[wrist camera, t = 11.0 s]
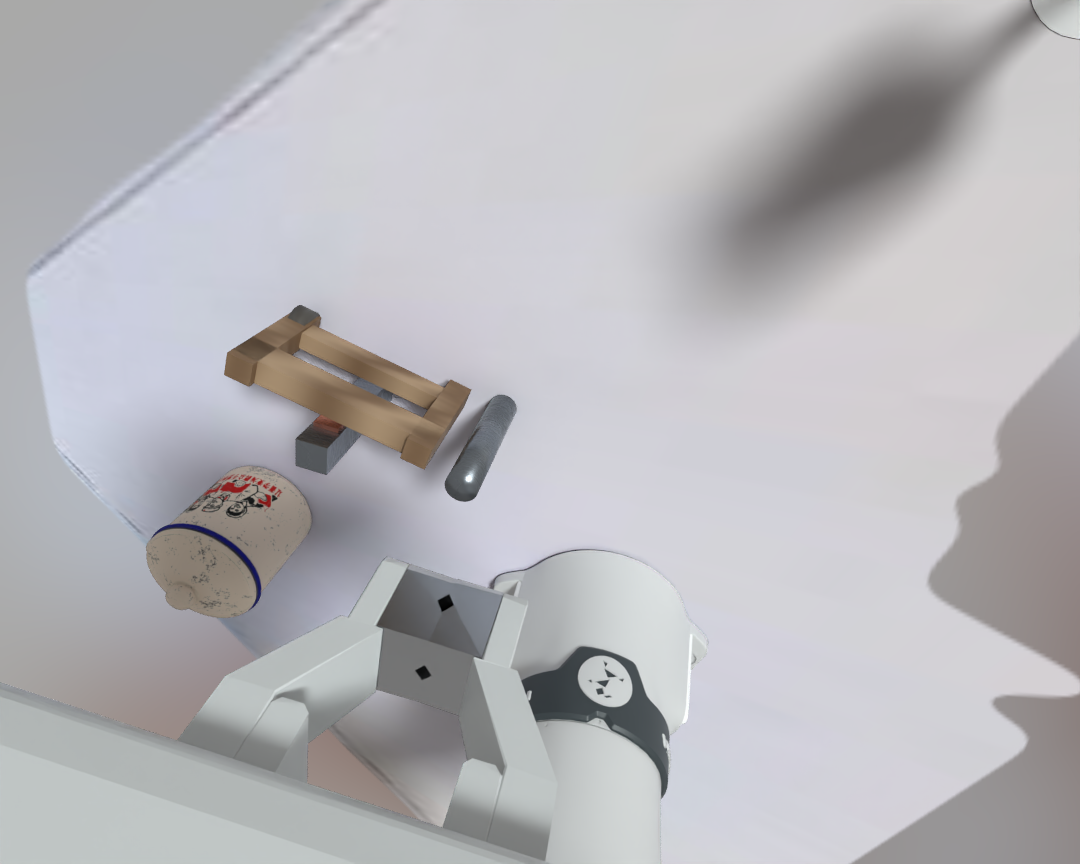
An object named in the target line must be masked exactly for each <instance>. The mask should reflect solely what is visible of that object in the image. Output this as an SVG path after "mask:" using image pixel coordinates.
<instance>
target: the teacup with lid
mask: <svg viewBox="0 0 1080 864" xmlns="http://www.w3.org/2000/svg"><path fill="white" fill-rule="evenodd" d="M310 527H311V512H310V509H309V506H308V504H307V502H306V500H305V498H304V497H303V495H302V494H301V492H300V491H299V490H298V489H297V488H296V487H295V486H294V485H293V484H292V483H291V482H290V481H288V480H287V479H286V478H284V477H282V476H281V475H279V474H277V473H275V472H273V471H271V470H268V469H265V468H261V467H255V466H243V467H238V468H235V469H233V470H231V471H229V472H228V473H227V474H225V475H224V476H223V477H222V478H221V479H220V480H219V481H218V482H216V483H215V484H214V485H213V486H212V487H211V488H210V489H209V490H207V491H206V492H205V493H204V494H203V495H202V496H201V497H200V498H199V499H197V500H196V501H195V502H194V503H193V504H192V505H191V506H190V507H189V508H187V509H186V510H185V511H184V512H183V513H182V514H181V515H180V516H178V517H177V518H176V519H175V520H174V521H173V522H172V523H171V524H170V525H167V526H164V527H162V528H161V529H159V530H158V531H157V532H156V533H155V534H154V535H153V537H152V538H151V539H150V541H149V542H148V543H147V546H146V551H147V563H148V567H149V569H150V572H151V574H152V575H153V577H154V579H155V580H156V582H157V583H158V584H159V585H160V587H161V588H162V589H163V590H164V591H165V592H166V600H167V602H168V603H169V604H170V605H171V606H172V607H174V608H176V609H179V610H186V609H191V610H193V611H195V612H198V613H200V614H203V615H207V616H211V617H217V618H230V617H235V616H239V615H241V614H243V613H245V612H247V611H248V610H250V609H252V608H253V607H254V606H255V605H256V604H257V602H258V601H259V598H260V596H261V592H262V591H263V590H264V589H265V587H266V586H267V585H268V584H269V582H270V581H271V580H272V579H273V577H274V576H275V575H276V574H277V572H278V571H279V570H280V568H281V567H282V566H283V565H284V563H285V562H286V561H287V560H288V558H289V557H290V556H291V555H292V553H293V552H294V551H295V550H296V548H297V547H298V546H299V545H300V543H301V542H302V541H303V540H304V538H305V537H306V536H307V534H308V533H309V530H310Z"/></svg>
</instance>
